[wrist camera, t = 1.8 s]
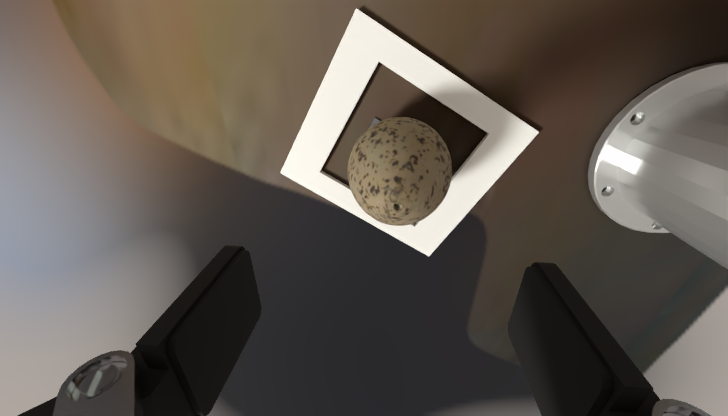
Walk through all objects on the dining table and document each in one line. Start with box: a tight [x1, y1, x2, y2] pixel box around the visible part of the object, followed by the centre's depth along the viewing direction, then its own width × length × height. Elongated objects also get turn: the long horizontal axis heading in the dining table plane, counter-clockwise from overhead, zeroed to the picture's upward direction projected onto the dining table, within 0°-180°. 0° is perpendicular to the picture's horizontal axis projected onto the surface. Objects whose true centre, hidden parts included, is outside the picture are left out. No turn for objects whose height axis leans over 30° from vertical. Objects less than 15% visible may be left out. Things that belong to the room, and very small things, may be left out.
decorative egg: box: [348, 117, 452, 226], centre depth 20 cm, size 7×7×10 cm
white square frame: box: [280, 8, 539, 256], centre depth 24 cm, size 16×14×1 cm
